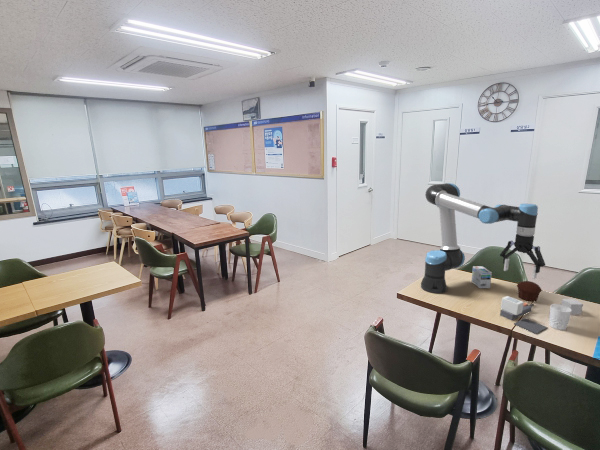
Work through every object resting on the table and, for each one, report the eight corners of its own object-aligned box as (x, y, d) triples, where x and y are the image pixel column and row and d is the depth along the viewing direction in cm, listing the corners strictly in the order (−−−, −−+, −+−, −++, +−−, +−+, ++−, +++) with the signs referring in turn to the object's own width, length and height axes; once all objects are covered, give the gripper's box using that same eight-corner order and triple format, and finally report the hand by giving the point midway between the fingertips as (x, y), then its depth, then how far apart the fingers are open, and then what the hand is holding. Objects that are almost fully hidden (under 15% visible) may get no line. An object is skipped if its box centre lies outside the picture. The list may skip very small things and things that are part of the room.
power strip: (499, 315, 166) (500, 309, 165) (527, 303, 178) (528, 297, 177) (511, 320, 161) (512, 314, 160) (539, 307, 173) (540, 301, 172)
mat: (513, 324, 158) (513, 323, 157) (524, 319, 162) (525, 317, 162) (536, 334, 149) (536, 333, 149) (547, 328, 154) (547, 327, 153)
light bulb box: (490, 288, 197) (492, 272, 195) (479, 288, 197) (481, 272, 195) (481, 281, 208) (482, 265, 205) (470, 281, 208) (472, 266, 205)
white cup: (543, 322, 158) (546, 304, 156) (557, 321, 159) (561, 303, 157) (556, 331, 151) (560, 312, 148) (572, 330, 151) (576, 311, 149)
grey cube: (569, 314, 165) (571, 304, 164) (560, 309, 171) (562, 298, 170) (580, 314, 165) (583, 304, 164) (571, 308, 171) (573, 298, 169)
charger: (499, 311, 167) (501, 297, 166) (505, 309, 170) (507, 295, 168) (516, 318, 161) (518, 304, 159) (521, 315, 163) (523, 301, 161)
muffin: (540, 297, 184) (542, 281, 182) (540, 305, 176) (542, 288, 173) (515, 292, 191) (517, 276, 189) (514, 299, 182) (516, 283, 180)
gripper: (495, 230, 168) (491, 268, 173) (550, 241, 147) (543, 283, 152) (503, 228, 172) (498, 265, 177) (557, 238, 151) (551, 280, 156)
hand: (519, 274), depth 165 cm, fingers open, 13 cm apart
